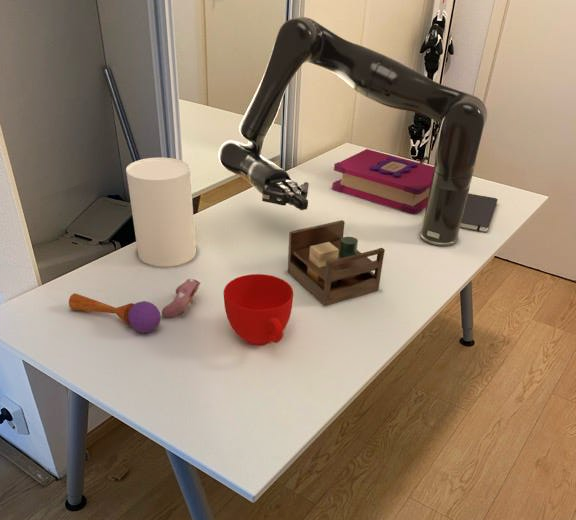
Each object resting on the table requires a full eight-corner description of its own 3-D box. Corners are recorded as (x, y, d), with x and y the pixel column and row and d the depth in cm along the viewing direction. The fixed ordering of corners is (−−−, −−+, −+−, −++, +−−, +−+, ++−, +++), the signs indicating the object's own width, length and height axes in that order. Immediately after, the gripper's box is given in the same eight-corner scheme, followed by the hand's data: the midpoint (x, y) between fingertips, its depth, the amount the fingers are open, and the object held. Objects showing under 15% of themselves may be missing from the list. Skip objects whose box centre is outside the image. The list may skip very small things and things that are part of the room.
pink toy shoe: (178, 327, 118) (191, 303, 113) (158, 316, 117) (170, 291, 113) (194, 302, 125) (207, 278, 121) (175, 291, 125) (187, 267, 120)
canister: (189, 237, 145) (183, 155, 133) (201, 262, 136) (195, 177, 123) (134, 243, 142) (122, 159, 129) (142, 269, 132) (130, 182, 119)
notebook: (452, 195, 172) (439, 223, 157) (454, 190, 171) (440, 218, 156) (496, 203, 169) (487, 233, 153) (498, 198, 168) (488, 227, 152)
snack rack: (338, 259, 139) (342, 219, 133) (378, 290, 129) (384, 249, 122) (287, 272, 134) (289, 231, 127) (325, 306, 123) (328, 263, 117)
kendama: (82, 283, 119) (165, 300, 112) (86, 310, 122) (167, 328, 115) (61, 291, 114) (146, 310, 107) (66, 320, 117) (149, 339, 110)
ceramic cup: (245, 374, 105) (245, 328, 98) (216, 324, 116) (214, 280, 110) (310, 358, 109) (314, 313, 103) (276, 312, 121) (277, 269, 114)
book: (366, 169, 186) (369, 145, 181) (447, 192, 174) (452, 167, 169) (330, 188, 173) (332, 163, 168) (414, 215, 161) (419, 188, 156)
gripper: (244, 167, 138) (279, 194, 127) (292, 160, 143) (330, 185, 132) (244, 198, 143) (278, 226, 131) (291, 189, 148) (327, 216, 137)
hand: (304, 205), depth 132 cm, fingers closed
